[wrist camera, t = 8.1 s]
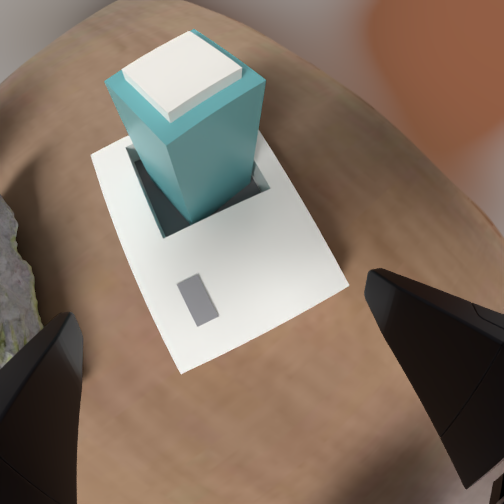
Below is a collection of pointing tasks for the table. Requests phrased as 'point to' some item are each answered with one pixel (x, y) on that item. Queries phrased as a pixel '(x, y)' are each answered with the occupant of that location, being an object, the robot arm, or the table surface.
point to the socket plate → (218, 255)
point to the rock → (15, 291)
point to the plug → (192, 120)
